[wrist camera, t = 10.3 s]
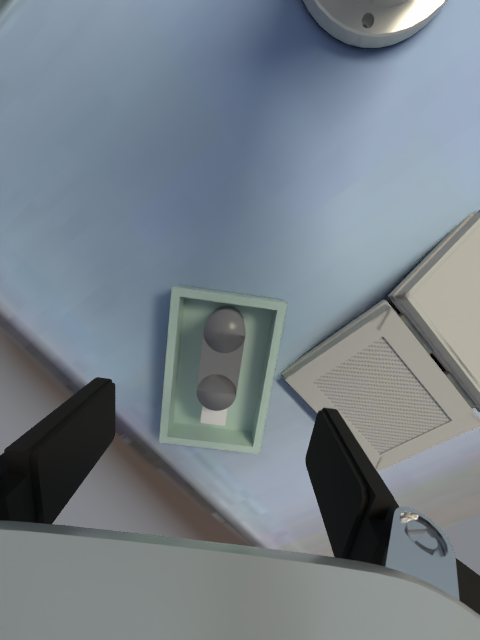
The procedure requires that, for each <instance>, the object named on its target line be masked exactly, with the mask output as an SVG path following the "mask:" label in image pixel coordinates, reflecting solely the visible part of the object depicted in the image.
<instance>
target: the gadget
mask: <svg viewBox="0 0 480 640" xmlns="http://www.w3.org/2000/svg"><path fill="white" fill-rule="evenodd" d="M388 297H389V299H390V300H391V301H392V302H393V304H394V305H395V306H396V307H397V309H398V310H399V311H400V314H398V315H397V313H396V312H395V311H394V309H393V308H392V307H391V306H390V304H389V303H388V302H387V301H386V300H384V299H383V300H382V301H381V302H379V303H378V304H376V305H375V306H373V307H372V308H371V309H369V310H368V311H366V312H365V313H363V314H362V315H361V316H359V317H358V318H356V319H355V320H353V321H352V322H351V323H349V324H348V325H346V326H345V327H343V328H342V329H341V330H339V331H338V332H336V333H335V334H333V335H332V336H331V337H329V338H328V339H326V340H325V341H323V342H322V343H321V344H319V345H318V346H316V347H315V348H313V349H312V350H311V351H309V352H308V353H306V354H305V355H303V356H302V357H301V358H299V359H298V360H296V361H295V362H294V363H293V364H292V365H290V366H289V367H288V368H287V369H286V370H285V371H283V372H282V373H281V375H282V376H283V377H284V378H285V380H286V381H287V382H288V383H289V385H290V386H291V387H292V388H293V389H294V390H295V391H296V392H297V393H298V394H299V395H300V396H301V397H302V398H303V399H304V400H305V401H306V402H307V403H308V404H309V406H310V407H311V408H312V409H313V410H314V411H315V412H316V413H318V411H319V410H322V409H323V408H332V409H337V410H338V412H339V413H340V415H341V416H342V418H343V419H344V421H345V422H346V424H347V426H348V427H349V429H350V430H351V432H352V433H353V435H354V436H355V438H356V440H357V441H358V443H359V444H360V446H361V447H362V449H363V450H364V452H365V454H366V455H367V457H368V458H369V460H370V461H371V463H372V464H373V466H374V468H375V469H376V471H377V472H378V471H380V470H382V469H384V468H387V467H389V466H391V465H393V464H396V463H398V462H400V461H402V460H404V459H407V458H409V457H411V456H413V455H416V454H418V453H420V452H422V451H425V450H427V449H429V448H431V447H434V446H436V445H438V444H440V443H443V442H445V441H447V440H449V439H452V438H454V437H456V436H458V435H461V434H463V433H465V432H467V431H469V430H472V429H474V428H476V427H478V426H480V419H479V418H478V416H477V415H476V413H475V412H474V411H473V410H472V408H476V409H477V411H479V412H480V210H479V211H478V212H477V213H476V214H475V215H474V214H473V213H472V214H471V215H470V216H468V217H467V218H466V219H465V220H464V221H463V222H461V223H460V224H459V225H458V226H457V227H455V228H454V229H453V230H452V231H451V232H450V233H449V234H448V235H447V236H446V237H445V238H444V239H443V240H442V241H441V242H440V243H439V244H438V245H437V246H436V247H435V248H434V249H433V250H432V251H431V252H430V253H429V254H428V255H427V256H426V257H425V258H424V259H423V260H422V261H421V262H420V263H419V264H418V265H417V266H416V267H415V268H414V269H413V270H412V272H411V273H410V274H409V275H408V276H407V277H406V278H405V279H404V280H403V281H402V282H401V283H400V284H399V285H398V286H397V287H396V288H395V289H394V290H393V291H392V292H391V293H390V294H389V295H388ZM431 353H433V355H434V356H435V357H436V358H437V360H438V361H439V362H440V363H441V365H442V366H443V367H444V369H445V370H446V371H443V372H442V370H441V369H440V368H439V366H438V365H437V364H436V363H435V361H434V360H433V359H432V358H431V356H430V355H429V354H431Z"/></svg>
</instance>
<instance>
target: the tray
mask: <svg viewBox="0 0 480 640" xmlns="http://www.w3.org/2000/svg"><path fill="white" fill-rule="evenodd" d="M222 306H231V307H234V308H236V309H237V310H239V311H240V312H241V314H242V316H243V318H244V323H245V331H246V335H245V342H244V349H243V355H242V362H241V368H240V375H239V381H238V388H237V394H236V398H235V401H234V402H233V404H232V405H231V406H230V407H228V409H227V416H226V423H225V426H222V425H213V424H205V423H200V421H201V413H202V404H201V403H200V402H199V400H198V398H197V384H198V375H199V366H200V357H201V349H202V340H203V331H204V326H205V324H206V322H207V321H208V319H209V318H210V316H211V315H212V313H213V312H214V311H215V310H216V309H217V308H219V307H222ZM286 308H287V303H286V302H285V301H283V300H280V299H273V298H266V297H259V296H252V295H245V294H238V293H231V292H224V291H217V290H210V289H203V288H196V287H189V286H182V285H178V286H172V289H171V301H170V313H169V325H168V337H167V350H166V362H165V374H164V386H163V398H162V410H161V422H160V435H159V443H167V444H176V445H184V446H193V447H202V448H210V449H219V450H228V451H236V452H245V453H253V454H259V453H260V448H261V442H262V437H263V432H264V426H265V421H266V415H267V410H268V405H269V399H270V394H271V388H272V383H273V378H274V372H275V367H276V362H277V356H278V351H279V345H280V340H281V335H282V329H283V324H284V318H285V313H286Z"/></svg>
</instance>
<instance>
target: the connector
mask: <svg viewBox="0 0 480 640" xmlns="http://www.w3.org/2000/svg"><path fill="white" fill-rule="evenodd" d="M245 335H246V331H245V323H244V318H243V316H242V314H241V312H240V311H239V310H237V309H236V308H234V307H231V306H222V307H219V308H217V309H216V310H215V311H214V312H213V313H212V315H211V316H210V318H209V319H208V321H207V322H206V324H205V326H204V331H203V340H202V349H201V357H200V366H199V375H198V384H197V398H198V400H199V402H200V403H201V404H202V413H201V421H200V423H205V424H213V425H222V426H225V423H226V416H227V409H228V407H230V406H231V405H232V404H233V402H234V401H235V398H236V394H237V388H238V381H239V375H240V368H241V362H242V355H243V349H244V342H245Z"/></svg>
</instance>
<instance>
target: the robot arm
mask: <svg viewBox="0 0 480 640" xmlns="http://www.w3.org/2000/svg"><path fill="white" fill-rule="evenodd" d="M303 1H304V3H305V5H306V7H307V9H308V11H309V12H310V14H311V15H312V16H313V18H314V19H315V20H316V21H317V23H318V24H319V25H320V26H321V27H322V28H323V29H324V30H326V31H327V32H328V33H329V34H330V35H332V36H333V37H335V38H337V39H338V40H340V41H342V42H344V43H346V44H349V45H353V46H357V47H361V48H380V47H385V46H389V45H394V44H396V43H398V42H400V41H403V40H405V39H407V38H409V37H411V36H412V35H414V34H415V33H416V32H418V31H419V30H421V29H422V28H423V27H425V26H426V25H427V24H428V23H429V22H430V21H431V20H432V19H433V18H434V16H435V15H436V14H437V13H438V12H439V11H440V10H441V8H442V7H443V6H444V5H445V3H446V2H447V1H448V0H303ZM114 436H115V383H112V380H111V379H106V378H99V377H97V378H95V379H94V380H92V381H91V382H90V383H88V384H87V385H86V386H85V387H83V388H82V389H81V390H80V391H78V392H77V393H76V394H74V395H73V396H72V397H71V398H69V399H68V400H67V401H66V402H64V403H63V404H62V405H61V406H59V407H58V408H57V409H55V410H54V411H53V412H52V413H50V414H49V415H48V416H46V417H45V418H44V419H43V420H41V421H40V422H39V423H38V424H36V425H35V426H34V427H33V428H31V429H30V430H29V431H27V432H26V433H25V434H24V435H22V436H21V437H20V438H19V439H17V440H16V441H15V442H13V443H12V444H11V445H10V446H8V447H7V448H6V449H5V452H4V453H3V454H2V455H0V640H480V576H479V575H478V574H477V573H475V572H474V571H473V570H471V569H470V568H469V567H467V566H466V565H464V564H463V563H462V562H460V561H459V560H458V559H456V557H455V552H454V549H453V546H452V544H451V542H450V540H449V539H448V537H447V536H446V535H445V533H444V532H443V531H442V530H441V528H440V527H438V526H437V525H436V524H435V523H434V522H433V521H432V520H431V519H429V518H428V517H427V516H425V515H424V514H422V513H421V512H419V511H417V510H415V509H412V508H409V507H399V506H398V504H397V503H396V501H395V499H394V497H393V496H392V494H391V492H390V491H389V489H388V488H387V486H386V485H385V483H384V482H383V480H382V478H381V477H380V475H379V474H378V472H377V471H376V469H375V468H374V466H373V464H372V463H371V461H370V460H369V458H368V457H367V455H366V454H365V452H364V450H363V449H362V447H361V446H360V444H359V443H358V441H357V440H356V438H355V436H354V435H353V433H352V432H351V430H350V429H349V427H348V426H347V424H346V422H345V421H344V419H343V418H342V416H341V415H340V413H339V412H338V410H337V409H332V408H323V409H322V410H319V411H318V413H317V417H316V421H315V425H314V428H313V432H312V436H311V439H310V443H309V447H308V451H307V454H306V467H307V470H308V473H309V476H310V480H311V483H312V486H313V489H314V493H315V496H316V499H317V502H318V505H319V509H320V512H321V515H322V518H323V521H324V525H325V528H326V531H327V534H328V537H329V541H330V544H331V547H332V550H333V553H334V556H335V557H328V556H321V555H314V554H307V553H298V552H290V551H282V550H274V549H266V548H258V547H250V546H242V545H233V544H225V543H216V542H207V541H199V540H191V539H182V538H173V537H164V536H156V535H147V534H138V533H129V532H120V531H111V530H101V529H93V528H83V527H74V526H65V525H53V524H52V523H53V522H54V520H55V519H56V518H57V516H58V515H59V513H60V512H61V511H62V509H63V508H64V507H65V505H66V504H67V503H68V501H69V499H70V498H71V497H72V496H73V494H74V493H75V492H76V490H77V489H78V487H79V486H80V485H81V483H82V482H83V480H84V479H85V478H86V477H87V475H88V474H89V472H90V471H91V470H92V468H93V467H94V465H95V464H96V463H97V461H98V460H99V459H100V457H101V456H102V455H103V453H104V452H105V450H106V449H107V448H108V446H109V445H110V443H111V442H112V440H113V439H114Z"/></svg>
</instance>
